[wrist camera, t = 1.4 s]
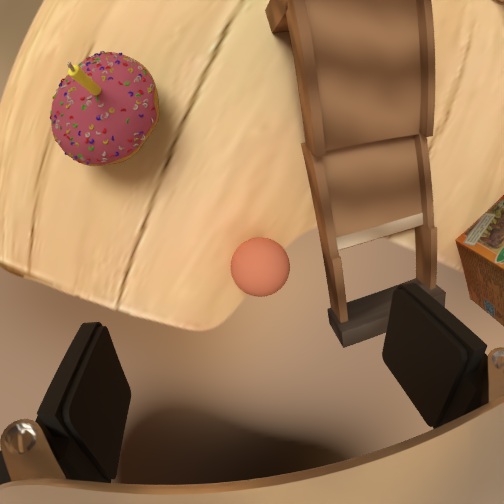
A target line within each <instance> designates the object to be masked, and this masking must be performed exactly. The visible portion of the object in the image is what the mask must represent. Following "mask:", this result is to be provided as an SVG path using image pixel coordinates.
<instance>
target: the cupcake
mask: <svg viewBox="0 0 504 504" xmlns="http://www.w3.org/2000/svg"><path fill="white" fill-rule="evenodd" d="M103 52H104V51H101V52H100V54H98V53H96V54H97V55H96V54H94V56H91V57H87V58H86V59H85V60H84V61H83V62H81V63H80V64H79V65H78V66H77V65H71V62H68V63H67V65H68V67H69V70H68V74H69V75H67V76H66V78H65V79H62V80H63V81H62V80H61V83H60V84H59V88H58V89H57V90H56V91H57V92H56V94H55V95H54V96H53V99H54V100H53V103H52V110H51V116H50V119H51V122H52V131H53V135H54V138H55V139H56V140H55V141H56V142H57V143H58V144H59V145H60V147H61V148H62V150H63V151H64V152H65V155H68V156H70V157H71V158H73V160H76V161H78V162H79V163H82V164H85V165H89V166H100V165H107V164H113V163H119V162H122V161H125V160H127V159H129V158H130V157H132V156H133V155H134V154H135V153H136V152H137V151H138V150H139V149H140V147H141V146H142V145H143V143H144V142H145V141H146V139H147V138H148V136H149V135H150V133H151V132H152V130H153V129H154V127H155V125H156V124H157V122H158V119H159V108H158V95H157V89H156V85H155V82H154V80H153V78H152V76H151V74H150V73H149V71H148V70H147V69H146V68H145V67H144V66H143V65H142V64H141V63H139V62H138V61H136V60H134V59H132V58H130V57H128V56H125V55H122V53H119V54H118V53H114V52H113V53H112V52H104V53H103Z"/></svg>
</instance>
